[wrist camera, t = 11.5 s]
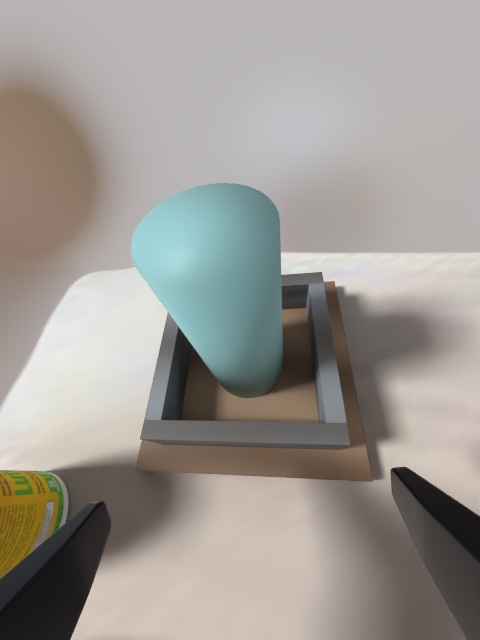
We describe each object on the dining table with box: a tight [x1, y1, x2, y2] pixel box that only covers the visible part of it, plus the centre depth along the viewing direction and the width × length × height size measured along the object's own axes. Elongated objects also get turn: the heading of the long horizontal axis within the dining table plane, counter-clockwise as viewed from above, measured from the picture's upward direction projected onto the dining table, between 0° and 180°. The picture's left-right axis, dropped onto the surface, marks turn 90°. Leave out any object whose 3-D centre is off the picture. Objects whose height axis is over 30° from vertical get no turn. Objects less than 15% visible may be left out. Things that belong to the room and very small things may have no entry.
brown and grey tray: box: [136, 272, 373, 482], centre depth 18 cm, size 14×14×4 cm
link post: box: [131, 183, 283, 398], centre depth 13 cm, size 5×5×12 cm
